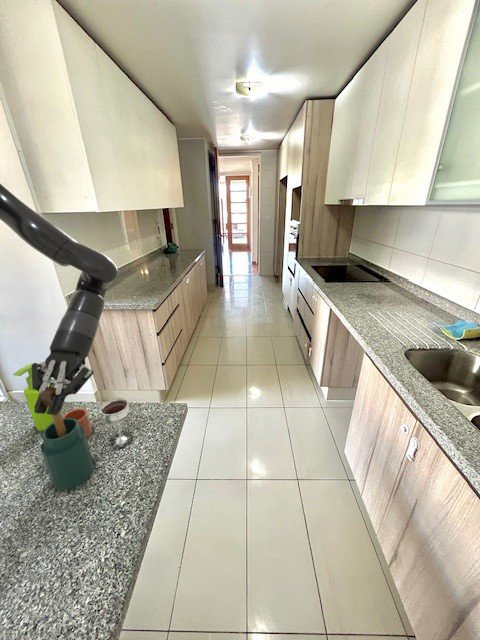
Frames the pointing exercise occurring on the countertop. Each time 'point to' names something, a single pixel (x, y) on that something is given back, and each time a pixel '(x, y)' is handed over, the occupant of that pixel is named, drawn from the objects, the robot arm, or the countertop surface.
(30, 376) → the soap dispenser
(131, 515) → the countertop surface
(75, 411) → the brush cup
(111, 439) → the countertop surface
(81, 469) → the bottle
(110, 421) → the wineglass
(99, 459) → the countertop surface
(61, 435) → the brush
